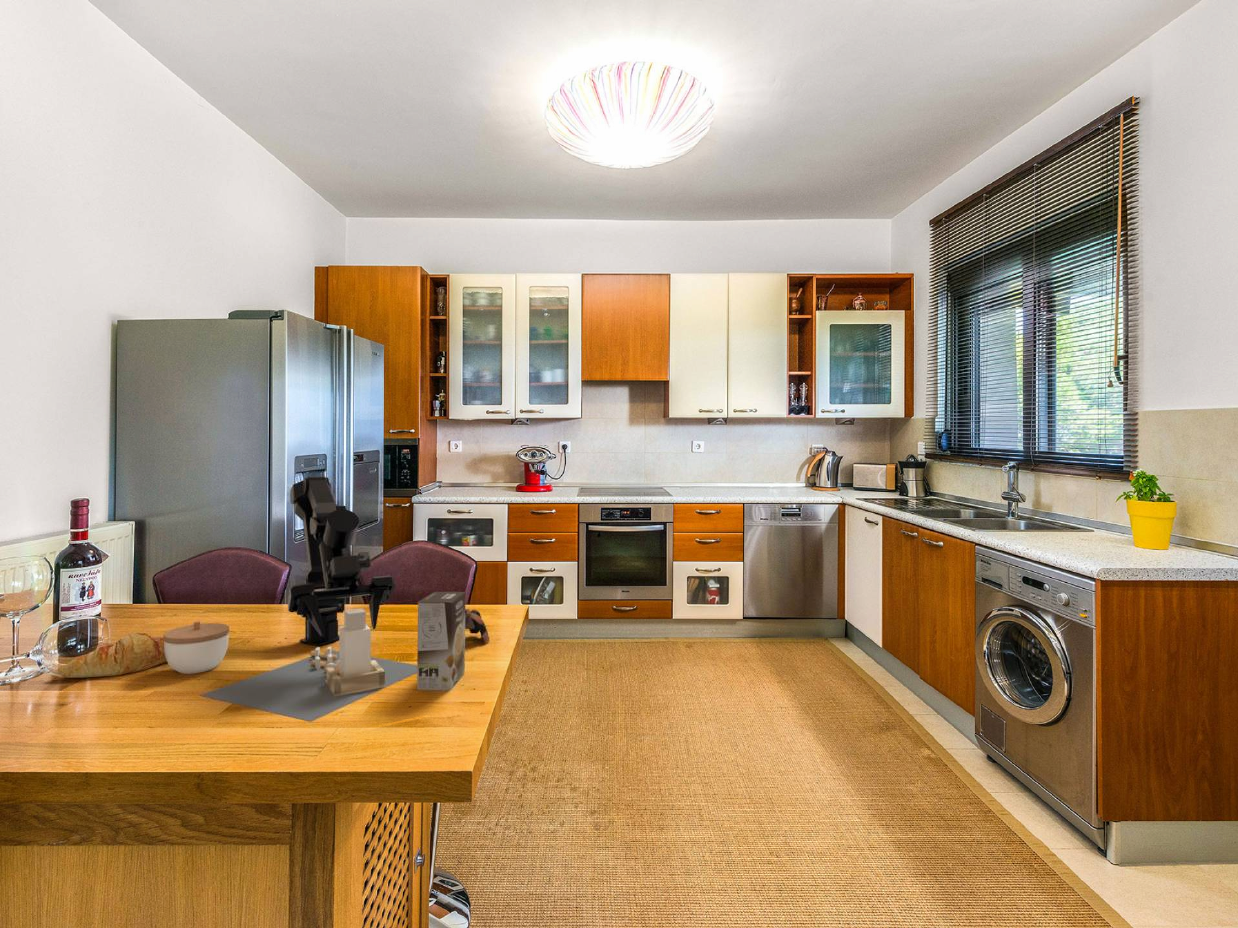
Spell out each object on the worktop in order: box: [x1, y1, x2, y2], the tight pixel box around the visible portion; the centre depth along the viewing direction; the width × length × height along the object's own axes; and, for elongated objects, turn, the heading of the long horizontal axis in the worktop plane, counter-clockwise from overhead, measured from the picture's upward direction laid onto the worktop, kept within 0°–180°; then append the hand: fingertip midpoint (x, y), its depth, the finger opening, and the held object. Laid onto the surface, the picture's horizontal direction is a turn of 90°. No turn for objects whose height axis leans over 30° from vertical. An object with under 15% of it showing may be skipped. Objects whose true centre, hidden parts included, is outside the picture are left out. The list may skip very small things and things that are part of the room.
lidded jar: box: [162, 620, 230, 675], centre depth 125 cm, size 11×11×9 cm
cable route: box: [309, 646, 339, 675], centre depth 127 cm, size 16×5×2 cm, turn 34°
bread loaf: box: [56, 632, 168, 679], centre depth 126 cm, size 21×10×8 cm, turn 138°
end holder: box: [326, 660, 386, 696], centre depth 118 cm, size 8×8×3 cm
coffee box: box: [416, 591, 466, 691], centre depth 120 cm, size 9×6×16 cm
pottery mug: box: [465, 608, 490, 645], centre depth 147 cm, size 12×10×8 cm
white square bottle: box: [339, 607, 372, 677], centre depth 117 cm, size 4×4×13 cm
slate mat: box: [199, 649, 417, 723], centre depth 119 cm, size 26×28×1 cm
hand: (349, 631), depth 122 cm, fingers open, 9 cm apart
